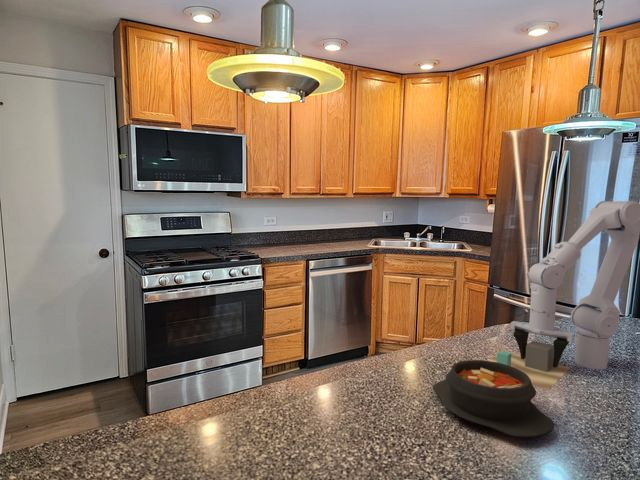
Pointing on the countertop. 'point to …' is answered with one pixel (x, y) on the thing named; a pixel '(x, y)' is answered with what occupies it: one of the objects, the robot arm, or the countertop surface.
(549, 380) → the board
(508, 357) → the sage green cube
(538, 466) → the countertop surface
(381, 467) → the countertop surface
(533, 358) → the grey cube
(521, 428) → the casserole
